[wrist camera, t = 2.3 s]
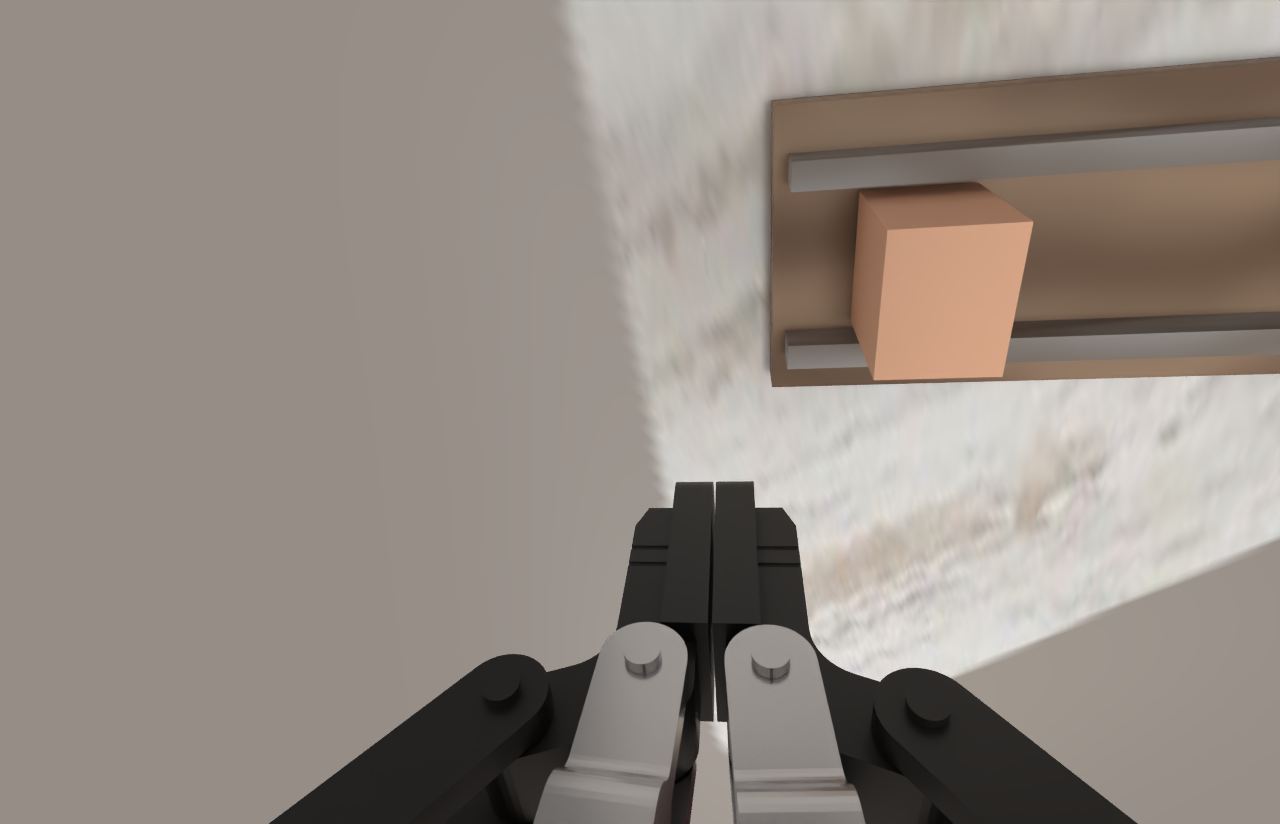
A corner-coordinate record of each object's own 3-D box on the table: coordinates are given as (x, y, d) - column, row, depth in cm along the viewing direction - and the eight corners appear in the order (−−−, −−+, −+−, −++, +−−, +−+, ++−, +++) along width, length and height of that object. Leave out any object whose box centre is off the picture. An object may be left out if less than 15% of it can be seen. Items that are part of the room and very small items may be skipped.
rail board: (772, 100, 25) (782, 122, 20) (1480, 39, 21) (1691, 48, 17) (770, 370, 30) (778, 438, 25) (1333, 354, 27) (1461, 427, 22)
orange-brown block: (859, 190, 24) (887, 230, 20) (978, 182, 24) (1033, 221, 19) (850, 320, 27) (873, 380, 22) (958, 316, 26) (1002, 376, 22)
